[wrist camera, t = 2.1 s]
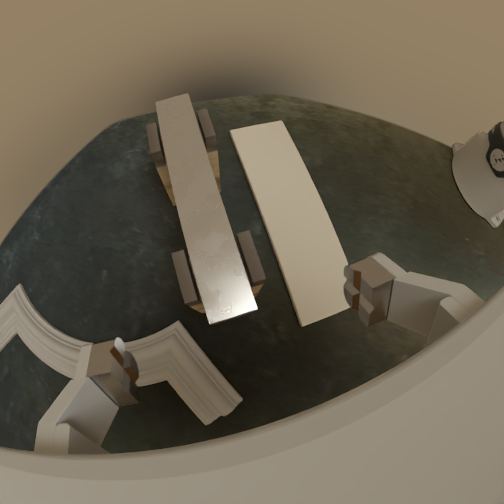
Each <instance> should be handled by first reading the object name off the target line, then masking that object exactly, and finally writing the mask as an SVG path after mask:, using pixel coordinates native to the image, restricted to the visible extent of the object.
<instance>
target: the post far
mask: <svg viewBox="0 0 504 504" xmlns="http://www.w3.org/2000/svg"><path fill="white" fill-rule="evenodd" d="M197 116H198V123H199V130H200V133H201V136H202V139H203V142H204V146H205V149H206V152H207V155H208V158H209V161H210V165H211V168H212V171H213V174H214V177H215V180H216V183H217V187H218V190H219V192H221V185H220V173H219V162H218V150H217V143H216V134H215V131H214V129H213V126H212V123H211V120H210V117H209V114H208V112H207V109H206V108H205V109H201V110H197ZM146 127H147V134H148V140H149V147H150V153H151V156H152V158H153V160H154V163H155V165H156V169H157V171H158V173H159V175H160V178H161V180H162V182H163V184H164V187H165V189H166V191H167V193H168V195H169V198H170V200H171V202H172V204H173V206H175V205H176V202H175V197H174V193H173V189H172V184H171V180H170V175H169V171H168V166H167V161H166V157H165V152H164V147H163V142H162V137H160V134H159V131H158V128H157V125H156V122H154V123H151V124H148V125H146Z"/></svg>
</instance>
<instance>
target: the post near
mask: <svg viewBox="0 0 504 504" xmlns="http://www.w3.org/2000/svg"><path fill="white" fill-rule="evenodd" d="M236 245H237V248H238V251H239V254H240V257H241V260H242V263H243V266H244V269H245V272H246V275H247V278H248V281H249V284H250V287H251V290H252V293H253V296H254V297H256V296H257V294H258V292H259V291H260V289H261V287H262V286H263V283H264V281H265V280H266V277H265V274H264V271H263V268H262V265H261V262H260V260H259V257H258V254H257V251H256V248H255V245H254V242H253V239H252V237H251V234H250V231H249V230H248V231H244V232H241V233H238V234H237V244H236ZM171 254H172V258H173V262H174V266H175V270H176V274H177V278H178V281H179V285H180V289H181V292H182V296H183V299H184V303H185V304H186V305H188V306H190V307H191V308H193V309H195V310H197V311H199V312H201V313H205V312H206V311H205V308H204V305H203V302H202V298H201V295H200V292H199V288H198V285H197V281H196V278H195V274H194V271H193V267H192V264H191V260H190V258H188V256H187V255H186V253H185V251H184V250H181V251H178V252H175V253H171Z"/></svg>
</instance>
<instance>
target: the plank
mask: <svg viewBox="0 0 504 504" xmlns="http://www.w3.org/2000/svg"><path fill="white" fill-rule="evenodd" d="M230 136H231V139H232V141H233V144H234V146H235V149H236V151H237V154H238V157H239V159H240V162H241V164H242V167H243V169H244V172H245V175H246V177H247V180H248V183H249V185H250V188H251V191H252V193H253V196H254V198H255V201H256V204H257V206H258V209H259V212H260V215H261V217H262V220H263V223H264V225H265V228H266V231H267V233H268V236H269V239H270V242H271V244H272V247H273V250H274V253H275V255H276V258H277V261H278V264H279V266H280V269H281V272H282V275H283V278H284V280H285V283H286V286H287V289H288V292H289V295H290V297H291V300H292V303H293V306H294V309H295V312H296V315H297V317H298V320H299V323H300V326H301V327H303V326H306V325H308V324H311V323H313V322H316V321H319V320H321V319H324V318H326V317H329V316H331V315H334V314H336V313H338V312H341V311H343V310H346V309H348V308H350V306H349V305H348V303H347V301H346V299H345V296H344V289H343V285H344V284H345V282H346V280H347V279H346V278H345V277H344V267H345V266H346V265H348V262H347V259H346V257H345V254H344V252H343V249H342V247H341V244H340V242H339V240H338V237H337V235H336V232H335V230H334V228H333V225H332V223H331V221H330V218H329V216H328V214H327V212H326V209H325V207H324V205H323V203H322V200H321V198H320V196H319V194H318V192H317V189H316V187H315V185H314V183H313V181H312V179H311V177H310V175H309V173H308V171H307V168H306V166H305V164H304V162H303V160H302V158H301V156H300V154H299V152H298V150H297V148H296V147H295V145H294V143H293V141H292V139H291V137H290V135H289V133H288V131H287V129H286V127H285V126H284V124H283V122H282V121H276V122H270V123H265V124H259V125H254V126H249V127H244V128H239V129H235V130H230Z"/></svg>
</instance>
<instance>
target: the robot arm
mask: <svg viewBox="0 0 504 504" xmlns="http://www.w3.org/2000/svg"><path fill="white" fill-rule="evenodd" d="M452 149H453V154H454V156H453V160H452V170H453V175H454V178H455V181H456V183H457V186H458V188H459V190H460V192H461V194H462V195H463V197H464V199H465V200H466V202H467V203H468V204H469V205H470V207H471V208H472V209H473V210H474V211H475V212H476V213H477V214H479V215H480V216H482V217H483V218H485V219H486V220H487V221H488V222H489V223H490V225H491V226H492V227H493V228H497V227H498V226H499V225H500V223H501V222H502V220H503V219H504V121H503V122H499V123H498V124H497V125H495V126H494V127H493V128H492V129H491V130H490V131H489V133H488V134H487V133H484V132H478V133H476V134H475V135H474V136H473V137H472V138H471V139H469V140H468V141H467V142H466V143H465V144H460V143H455V144H453V145H452ZM344 277H345V278H346V279H347V280H346V282H345V284H344V285H343V289H344V296H345V299H346V301H347V303H348V305H349V306H350V307H351V308H352V309H354V310H357V311H359V312H358V317H359V318H360V319H361V320H362V321H363V322H364V324H365V325H366V326H367V327H371V326H373V325H375V324H377V323H379V322H382V321H384V320H386V319H387V320H388V321H390V322H392V323H395V324H397V325H399V326H402V327H404V328H406V329H408V330H411V331H413V332H415V333H418V334H420V335H422V336H424V337H427V338H428V339H427V341H426V344H425V347H424V349H423V350H421V351H420V352H418V353H417V354H415V355H413V356H412V357H410V358H409V359H407V360H405V361H404V362H402V363H400V364H399V365H397V366H395V367H394V368H392V369H390V370H389V371H387V372H385V373H383V374H381V375H380V376H378V377H376V378H374V379H372V380H370V381H368V382H366V383H365V384H363V385H361V386H359V387H357V388H355V389H353V390H351V391H348V392H346V393H344V394H342V395H340V396H338V397H336V398H333V399H331V400H329V401H327V402H324V403H322V404H320V405H317V406H315V407H313V408H310V409H308V410H305V411H303V412H300V413H297V414H295V415H292V416H289V417H287V418H284V419H281V420H278V421H275V422H272V423H269V424H266V425H263V426H260V427H257V428H254V429H250V430H247V431H243V432H240V433H236V434H232V435H229V436H225V437H221V438H217V439H212V440H208V441H203V442H199V443H194V444H189V445H183V446H177V447H171V448H165V449H158V450H150V451H141V452H131V453H117V454H110V453H109V452H107V451H106V450H104V449H103V448H101V447H100V446H101V444H102V442H103V440H104V438H105V435H106V433H107V431H108V429H109V427H110V425H111V423H112V421H113V419H114V417H115V415H116V413H117V411H118V409H119V406H124V405H129V404H134V403H139V387H138V386H137V385H136V384H135V382H136V381H137V379H138V378H139V370H138V366H137V362H136V360H135V358H134V356H133V355H132V354H131V353H130V352H128V351H126V350H125V344H124V342H123V341H122V340H121V338H118V337H116V338H112V339H107V340H103V341H98V342H94V343H90V344H85V345H83V346H82V347H81V350H80V354H79V358H78V363H77V367H76V372H75V377H74V380H70V382H69V383H68V384H67V386H66V387H65V388H64V389H63V391H62V392H61V393H60V395H59V396H58V397H57V398H56V400H55V401H54V402H53V404H52V405H51V406H50V408H49V409H48V410H47V412H46V413H45V415H44V416H43V417H42V419H41V420H40V421H39V423H38V428H37V435H36V442H35V449H34V452H33V451H25V450H18V449H11V448H6V447H0V504H504V285H503V286H502V287H501V288H500V289H499V290H498V291H497V292H496V293H495V294H494V295H493V296H492V297H490V298H489V299H488V300H487V301H486V302H484V301H483V300H482V299H481V298H480V297H478V296H477V295H476V294H475V293H474V292H472V291H471V290H470V289H469V288H467V287H466V286H465V285H463V284H459V283H455V282H451V281H447V280H443V279H439V278H435V277H431V276H426V275H422V274H418V273H414V272H408V273H407V272H405V271H404V270H403V269H402V268H400V267H399V266H398V265H397V264H395V263H394V262H393V261H392V260H390V259H389V258H388V257H386V256H385V255H384V254H383V253H379V252H378V253H376V254H373V255H371V256H368V257H367V258H364V259H362V260H359V261H356V262H354V263H351V264H349V265H346V266H345V267H344Z"/></svg>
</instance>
